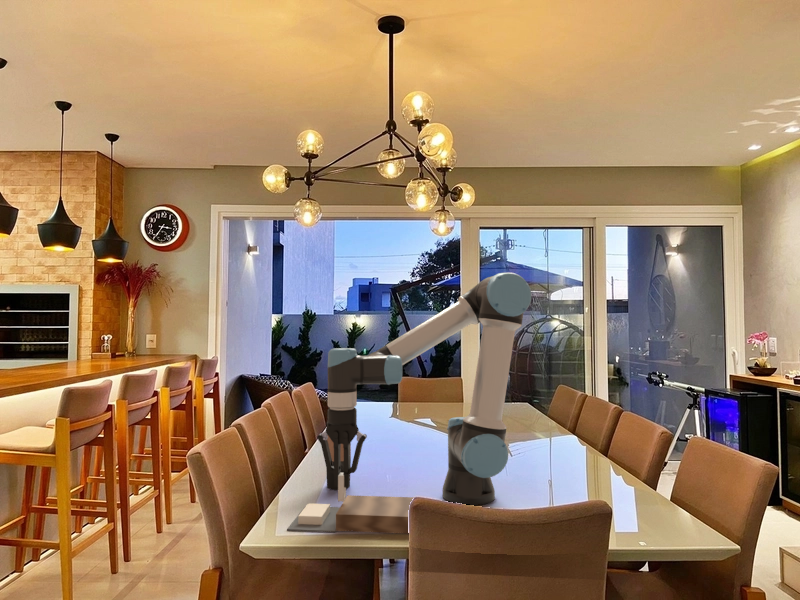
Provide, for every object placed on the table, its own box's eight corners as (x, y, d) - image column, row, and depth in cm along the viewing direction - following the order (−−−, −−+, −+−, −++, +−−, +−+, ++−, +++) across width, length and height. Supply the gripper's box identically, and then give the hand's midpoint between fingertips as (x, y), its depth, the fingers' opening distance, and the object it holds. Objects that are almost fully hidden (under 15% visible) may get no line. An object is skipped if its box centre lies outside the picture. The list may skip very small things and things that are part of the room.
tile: (308, 503, 139) (308, 511, 139) (298, 515, 130) (298, 523, 130) (330, 504, 138) (330, 511, 138) (321, 516, 129) (321, 524, 129)
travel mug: (351, 482, 165) (351, 419, 166) (350, 490, 157) (350, 423, 158) (327, 482, 165) (327, 419, 166) (324, 490, 157) (324, 424, 158)
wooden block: (421, 512, 138) (420, 497, 138) (417, 534, 124) (417, 517, 125) (347, 510, 140) (347, 495, 141) (335, 530, 126) (335, 514, 127)
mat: (348, 509, 141) (348, 507, 141) (334, 532, 125) (334, 530, 125) (305, 507, 143) (305, 506, 143) (286, 530, 127) (286, 529, 127)
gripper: (369, 405, 138) (369, 495, 137) (321, 405, 139) (321, 494, 138) (364, 410, 130) (364, 505, 129) (313, 409, 132) (313, 503, 131)
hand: (342, 499), depth 134 cm, fingers closed
